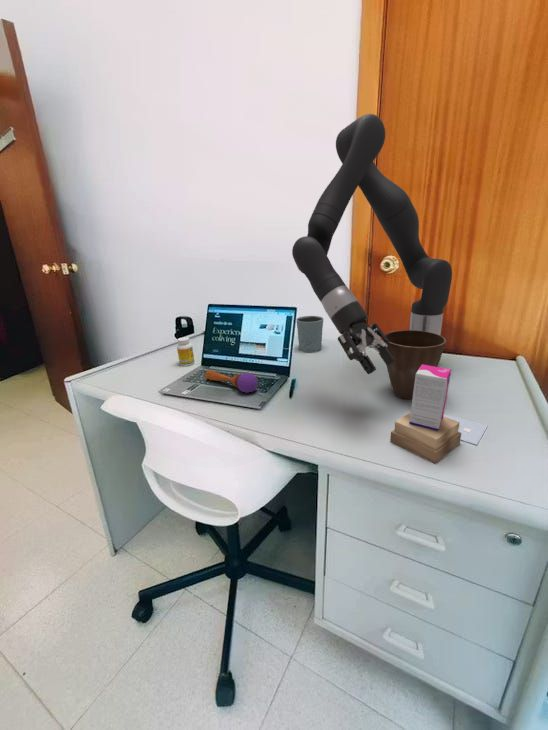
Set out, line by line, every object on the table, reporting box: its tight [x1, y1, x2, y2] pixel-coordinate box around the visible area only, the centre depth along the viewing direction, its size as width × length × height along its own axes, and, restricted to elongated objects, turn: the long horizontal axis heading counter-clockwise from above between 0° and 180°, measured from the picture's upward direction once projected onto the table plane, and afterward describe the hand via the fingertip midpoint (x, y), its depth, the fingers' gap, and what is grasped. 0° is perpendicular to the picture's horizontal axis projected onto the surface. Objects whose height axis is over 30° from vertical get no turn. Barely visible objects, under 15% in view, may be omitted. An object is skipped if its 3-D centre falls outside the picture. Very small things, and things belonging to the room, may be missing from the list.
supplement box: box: [409, 364, 452, 431], centre depth 70 cm, size 6×6×12 cm
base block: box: [389, 411, 461, 464], centre depth 72 cm, size 10×10×5 cm
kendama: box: [204, 369, 259, 394], centre depth 105 cm, size 6×6×20 cm
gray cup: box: [295, 315, 324, 354], centre depth 132 cm, size 10×10×12 cm
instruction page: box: [444, 413, 488, 446], centre depth 78 cm, size 9×12×1 cm
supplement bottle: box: [176, 336, 195, 367], centre depth 124 cm, size 5×5×10 cm
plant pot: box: [384, 329, 447, 400], centre depth 92 cm, size 15×15×16 cm
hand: (382, 367), depth 78 cm, fingers open, 8 cm apart
